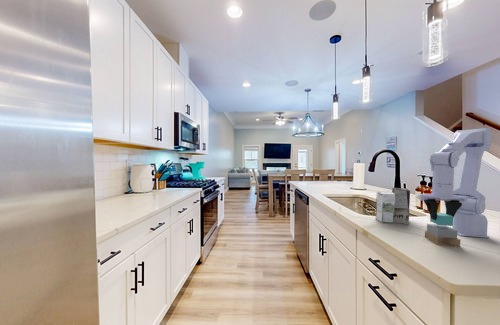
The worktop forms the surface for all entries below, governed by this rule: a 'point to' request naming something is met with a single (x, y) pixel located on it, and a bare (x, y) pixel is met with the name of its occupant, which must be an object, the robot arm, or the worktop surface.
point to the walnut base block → (442, 240)
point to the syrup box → (385, 207)
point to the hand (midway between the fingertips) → (441, 219)
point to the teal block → (443, 219)
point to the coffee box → (401, 205)
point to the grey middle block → (442, 231)
